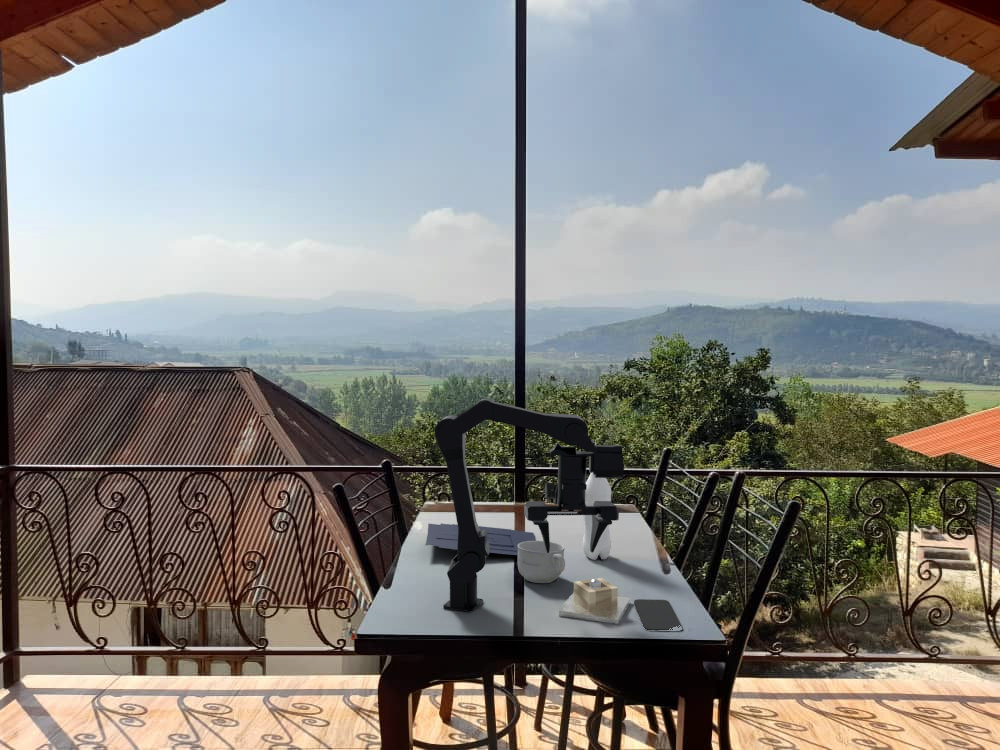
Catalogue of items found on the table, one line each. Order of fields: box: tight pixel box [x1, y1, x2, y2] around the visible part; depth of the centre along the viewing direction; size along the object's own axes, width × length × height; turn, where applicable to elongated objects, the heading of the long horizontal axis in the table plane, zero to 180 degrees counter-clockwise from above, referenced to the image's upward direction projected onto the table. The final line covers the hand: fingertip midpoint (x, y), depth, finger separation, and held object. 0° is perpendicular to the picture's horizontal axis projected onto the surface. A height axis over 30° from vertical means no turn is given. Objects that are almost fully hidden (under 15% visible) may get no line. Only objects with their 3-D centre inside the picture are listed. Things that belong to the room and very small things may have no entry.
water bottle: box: [582, 472, 613, 561], centre depth 178 cm, size 7×7×25 cm
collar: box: [573, 577, 619, 612], centre depth 144 cm, size 6×6×4 cm
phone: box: [633, 598, 682, 631], centre depth 140 cm, size 7×1×15 cm
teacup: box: [517, 540, 566, 584], centre depth 160 cm, size 14×11×8 cm
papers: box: [425, 523, 537, 557], centre depth 187 cm, size 24×30×4 cm
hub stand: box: [558, 578, 631, 625], centre depth 144 cm, size 12×12×6 cm
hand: (569, 552), depth 145 cm, fingers open, 9 cm apart
